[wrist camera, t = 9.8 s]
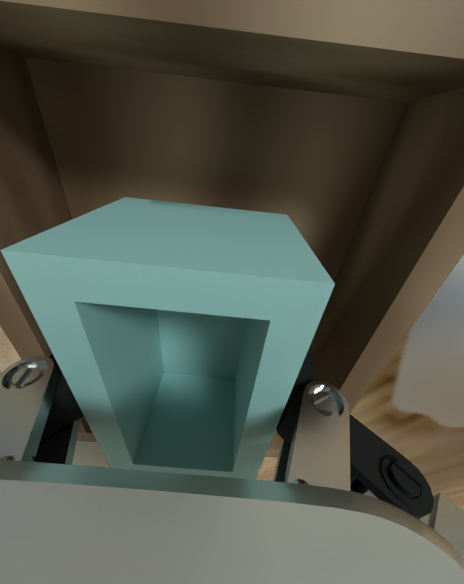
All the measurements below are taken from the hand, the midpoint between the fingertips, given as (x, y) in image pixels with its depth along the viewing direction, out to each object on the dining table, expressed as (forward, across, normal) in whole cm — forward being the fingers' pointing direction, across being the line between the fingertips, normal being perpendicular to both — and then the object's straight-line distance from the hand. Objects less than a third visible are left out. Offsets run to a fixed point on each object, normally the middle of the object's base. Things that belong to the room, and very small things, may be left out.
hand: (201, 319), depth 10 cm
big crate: (+3, 0, 0) cm, 3 cm away
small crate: (+1, 0, 0) cm, 1 cm away
